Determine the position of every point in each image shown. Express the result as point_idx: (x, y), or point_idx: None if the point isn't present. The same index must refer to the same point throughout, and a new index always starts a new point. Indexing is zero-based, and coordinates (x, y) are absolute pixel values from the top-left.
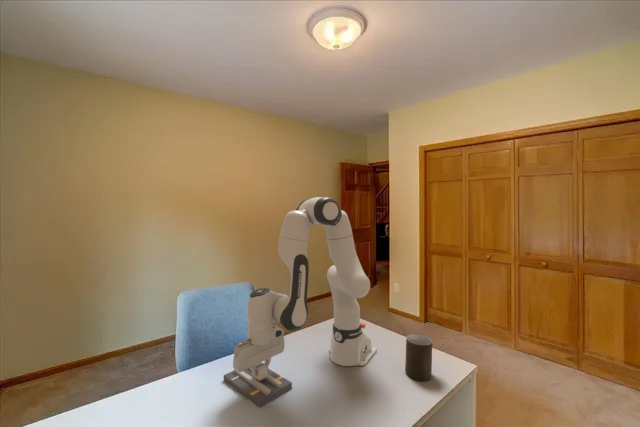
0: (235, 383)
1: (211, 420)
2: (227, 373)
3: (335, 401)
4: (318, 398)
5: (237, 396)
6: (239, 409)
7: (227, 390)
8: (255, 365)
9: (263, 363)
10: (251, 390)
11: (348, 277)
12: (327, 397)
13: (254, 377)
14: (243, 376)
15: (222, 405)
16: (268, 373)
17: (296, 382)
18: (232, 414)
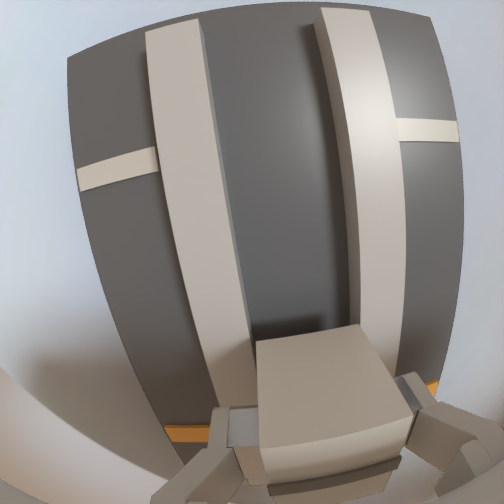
0: (97, 251)
1: (10, 373)
2: (103, 41)
3: (414, 488)
4: (403, 477)
5: (111, 324)
6: (107, 409)
7: (69, 215)
8: (289, 462)
9: (395, 465)
10: (185, 407)
11: None
12: (420, 477)
13: (293, 280)
14: (177, 238)
15: (36, 332)
16: (420, 300)
17: (451, 391)
18: (77, 408)
